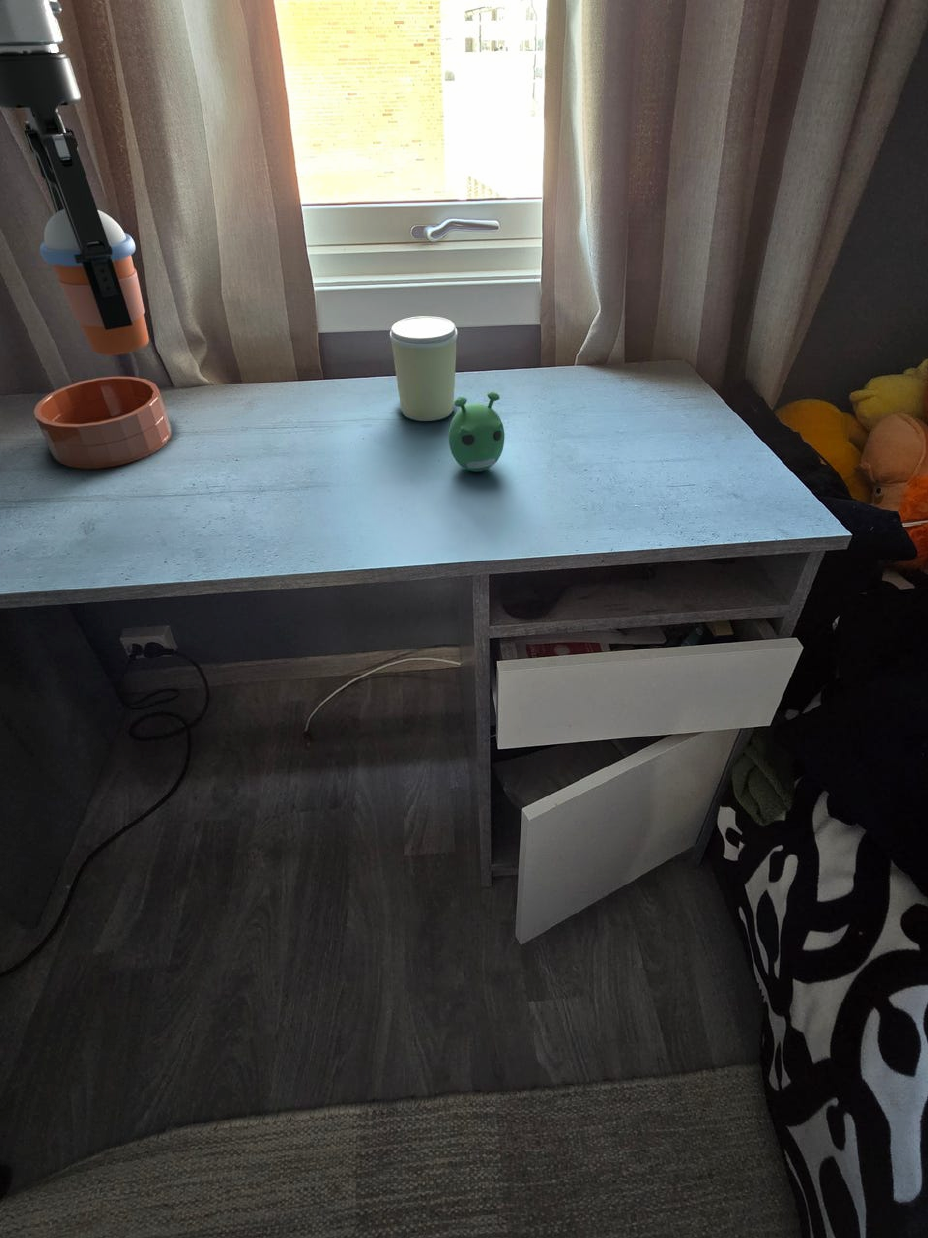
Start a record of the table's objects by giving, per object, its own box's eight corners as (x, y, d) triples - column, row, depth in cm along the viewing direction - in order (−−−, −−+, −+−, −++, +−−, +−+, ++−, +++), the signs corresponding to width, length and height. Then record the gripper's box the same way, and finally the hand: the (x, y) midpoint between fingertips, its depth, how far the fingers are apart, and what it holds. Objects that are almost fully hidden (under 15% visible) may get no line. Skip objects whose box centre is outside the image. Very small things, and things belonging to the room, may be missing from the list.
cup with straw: (176, 346, 78) (122, 156, 66) (94, 366, 74) (21, 167, 62) (144, 326, 83) (89, 146, 71) (66, 344, 79) (-6, 156, 67)
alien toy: (459, 488, 86) (457, 412, 79) (443, 459, 91) (441, 386, 84) (512, 480, 87) (515, 404, 80) (494, 451, 92) (495, 379, 86)
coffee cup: (429, 390, 107) (425, 310, 99) (471, 408, 102) (471, 325, 94) (383, 410, 102) (375, 327, 94) (425, 430, 97) (421, 344, 89)
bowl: (61, 480, 88) (41, 437, 84) (46, 432, 98) (28, 392, 94) (183, 449, 94) (170, 407, 90) (157, 407, 104) (145, 368, 100)
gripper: (87, 51, 56) (168, 336, 70) (49, 45, 70) (124, 283, 84) (-18, 55, 53) (91, 351, 68) (-35, 47, 67) (58, 294, 82)
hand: (109, 313), depth 76 cm, fingers closed on cup with straw, 9 cm apart
